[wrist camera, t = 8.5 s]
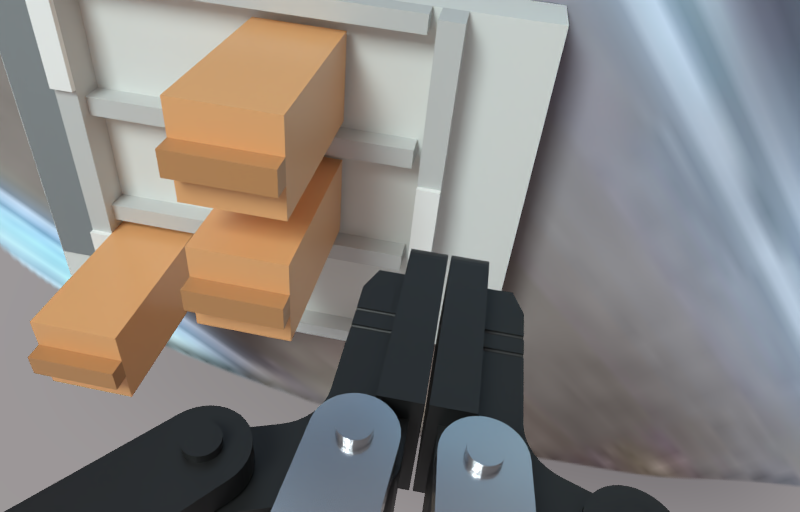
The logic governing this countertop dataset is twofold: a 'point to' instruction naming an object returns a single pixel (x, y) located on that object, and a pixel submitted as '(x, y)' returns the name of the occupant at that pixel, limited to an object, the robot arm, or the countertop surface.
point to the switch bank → (353, 144)
